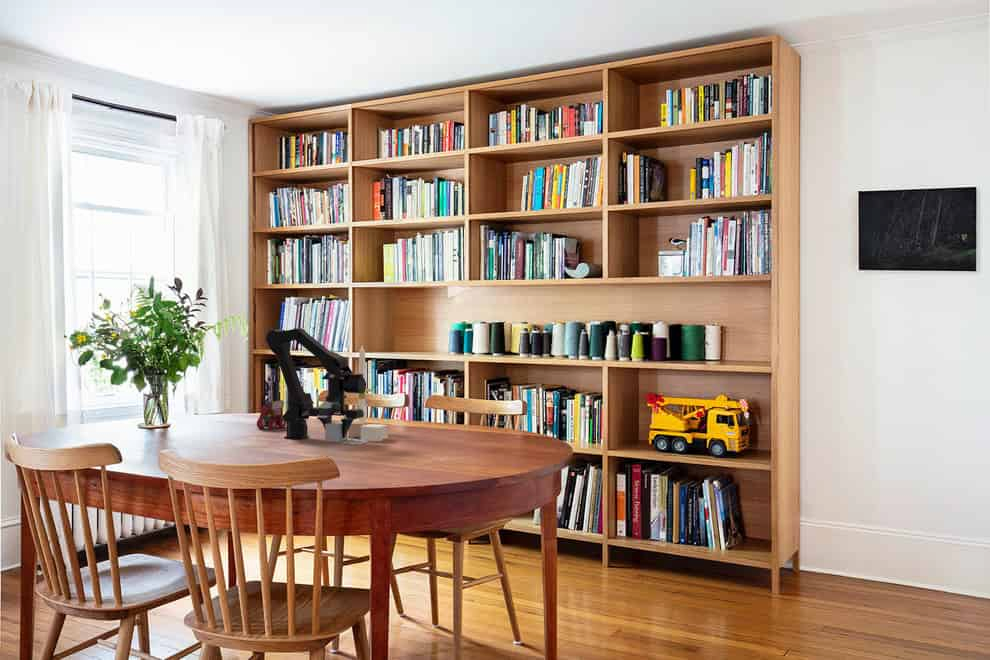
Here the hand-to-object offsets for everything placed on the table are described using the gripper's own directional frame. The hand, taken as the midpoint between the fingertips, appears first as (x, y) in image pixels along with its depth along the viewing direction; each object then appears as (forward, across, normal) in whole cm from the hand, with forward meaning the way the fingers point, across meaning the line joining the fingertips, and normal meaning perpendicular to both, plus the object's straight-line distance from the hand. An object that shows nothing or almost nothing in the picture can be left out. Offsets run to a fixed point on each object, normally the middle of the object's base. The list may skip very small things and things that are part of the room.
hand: (336, 437), depth 304 cm
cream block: (+1, +11, +7) cm, 13 cm away
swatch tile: (+1, +8, -1) cm, 8 cm away
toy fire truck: (+1, -38, +17) cm, 42 cm away
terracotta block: (+1, +2, +11) cm, 11 cm away
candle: (+1, -3, +24) cm, 24 cm away
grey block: (+1, 0, 0) cm, 1 cm away
